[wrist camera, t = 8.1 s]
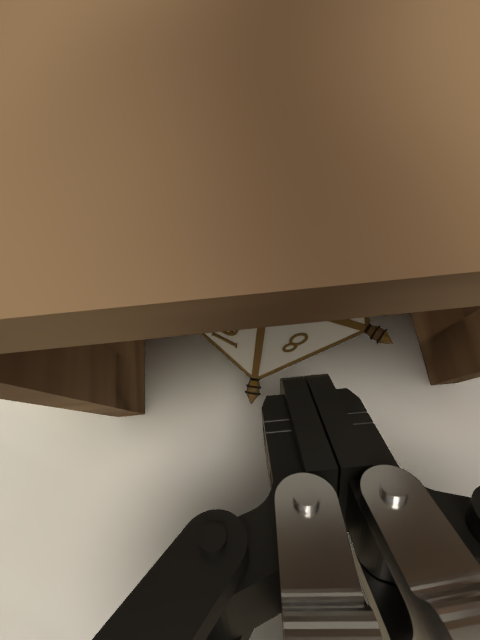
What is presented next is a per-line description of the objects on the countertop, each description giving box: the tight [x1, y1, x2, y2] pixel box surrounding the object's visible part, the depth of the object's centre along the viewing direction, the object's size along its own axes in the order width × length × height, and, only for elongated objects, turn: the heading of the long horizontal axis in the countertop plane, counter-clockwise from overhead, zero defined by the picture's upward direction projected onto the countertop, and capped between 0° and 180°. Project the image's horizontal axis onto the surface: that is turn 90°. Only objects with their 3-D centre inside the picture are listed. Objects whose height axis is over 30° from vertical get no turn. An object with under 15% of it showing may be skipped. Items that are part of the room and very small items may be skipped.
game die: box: [202, 317, 393, 404], centre depth 13 cm, size 9×8×10 cm
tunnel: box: [0, 0, 480, 417], centre depth 11 cm, size 16×11×12 cm
